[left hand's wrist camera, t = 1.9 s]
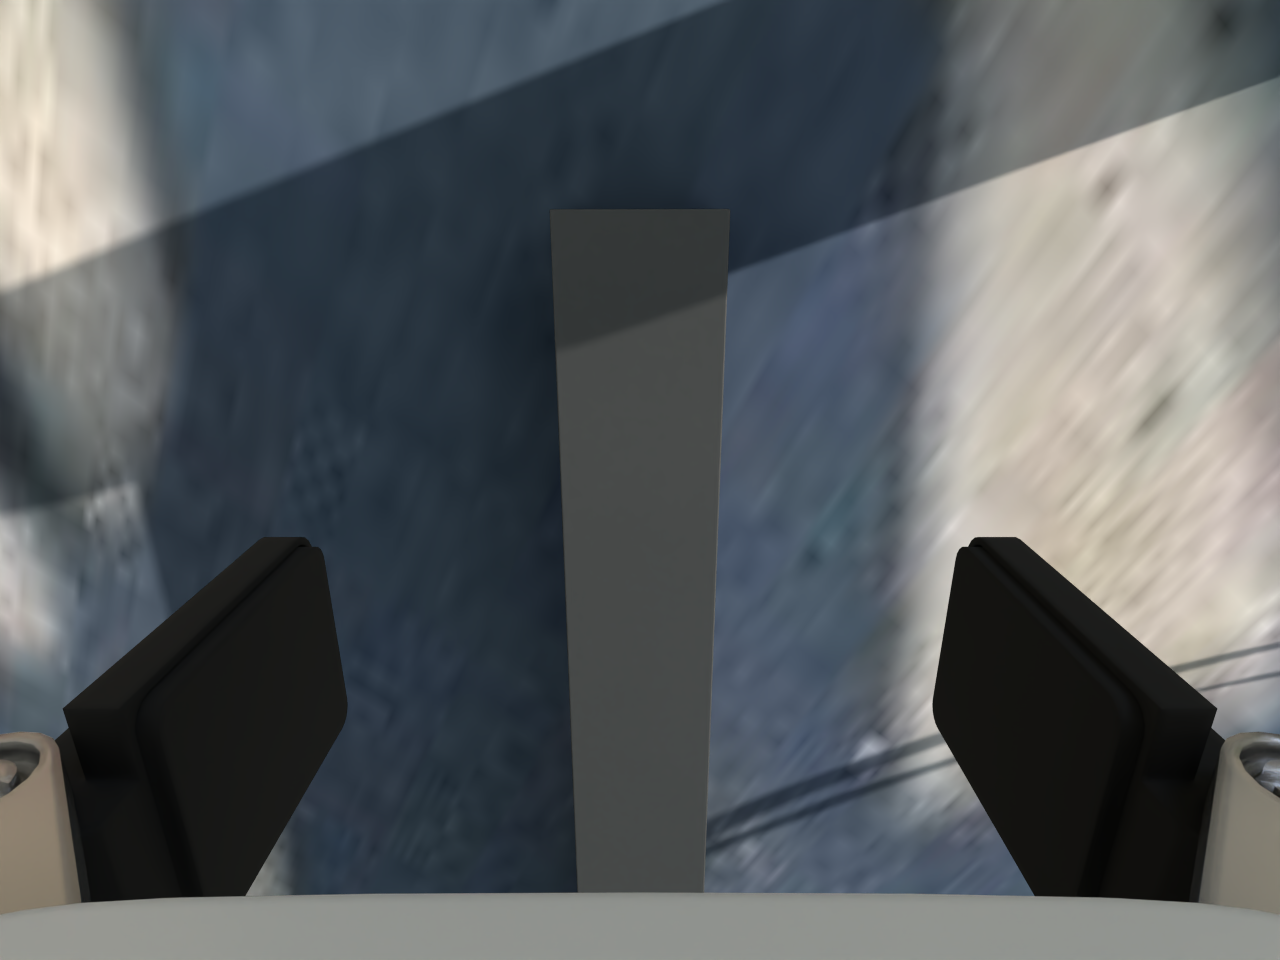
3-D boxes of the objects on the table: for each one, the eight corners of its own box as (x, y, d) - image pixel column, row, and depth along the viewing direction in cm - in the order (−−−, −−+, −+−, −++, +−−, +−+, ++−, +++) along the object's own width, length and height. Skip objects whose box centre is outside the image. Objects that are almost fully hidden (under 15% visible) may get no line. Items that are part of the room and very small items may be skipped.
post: (566, 210, 30) (549, 209, 24) (713, 209, 30) (730, 209, 24) (601, 1269, 56) (597, 1385, 50) (680, 1269, 56) (685, 1385, 50)
